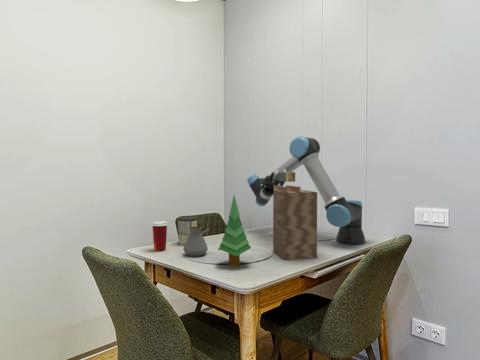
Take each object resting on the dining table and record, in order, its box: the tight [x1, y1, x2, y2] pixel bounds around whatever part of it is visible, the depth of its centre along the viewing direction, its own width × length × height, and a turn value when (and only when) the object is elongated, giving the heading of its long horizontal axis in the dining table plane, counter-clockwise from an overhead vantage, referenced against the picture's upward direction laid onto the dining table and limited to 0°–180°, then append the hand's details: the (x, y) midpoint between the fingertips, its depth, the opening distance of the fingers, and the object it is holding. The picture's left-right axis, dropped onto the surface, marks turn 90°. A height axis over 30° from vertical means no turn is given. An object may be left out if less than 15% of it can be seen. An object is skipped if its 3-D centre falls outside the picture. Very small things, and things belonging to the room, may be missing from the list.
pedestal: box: [272, 184, 318, 261], centre depth 158 cm, size 16×14×32 cm
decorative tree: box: [217, 195, 252, 267], centre depth 142 cm, size 14×16×30 cm
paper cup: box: [151, 220, 168, 252], centre depth 168 cm, size 8×8×14 cm
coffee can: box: [177, 216, 198, 247], centre depth 182 cm, size 10×10×14 cm
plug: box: [271, 171, 296, 183], centre depth 176 cm, size 4×22×4 cm, turn 15°
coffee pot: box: [182, 220, 226, 257], centre depth 162 cm, size 21×12×15 cm, turn 119°
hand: (281, 171), depth 178 cm, fingers closed on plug, 4 cm apart
